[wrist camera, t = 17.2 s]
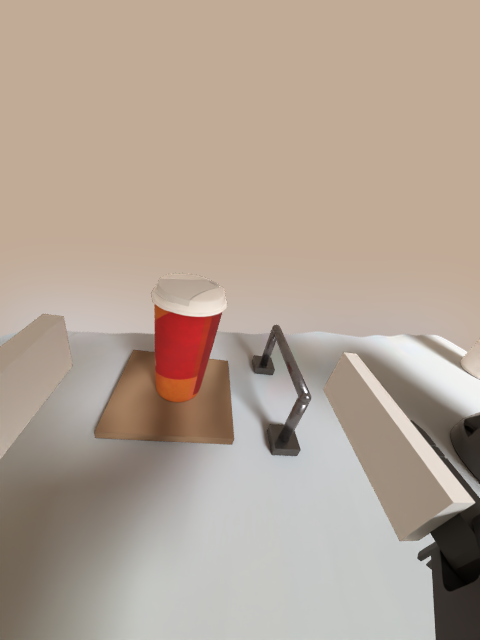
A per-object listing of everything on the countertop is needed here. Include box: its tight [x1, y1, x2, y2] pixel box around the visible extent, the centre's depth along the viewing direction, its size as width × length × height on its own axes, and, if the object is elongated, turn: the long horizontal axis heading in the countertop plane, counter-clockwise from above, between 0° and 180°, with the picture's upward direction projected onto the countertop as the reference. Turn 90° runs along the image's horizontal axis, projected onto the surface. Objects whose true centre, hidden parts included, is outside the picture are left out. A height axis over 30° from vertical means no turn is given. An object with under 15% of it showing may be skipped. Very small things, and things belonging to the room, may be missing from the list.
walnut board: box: [95, 350, 234, 444], centre depth 30 cm, size 14×13×1 cm
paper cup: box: [151, 273, 227, 402], centre depth 27 cm, size 8×8×14 cm
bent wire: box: [252, 325, 311, 456], centre depth 31 cm, size 3×16×8 cm, turn 5°
